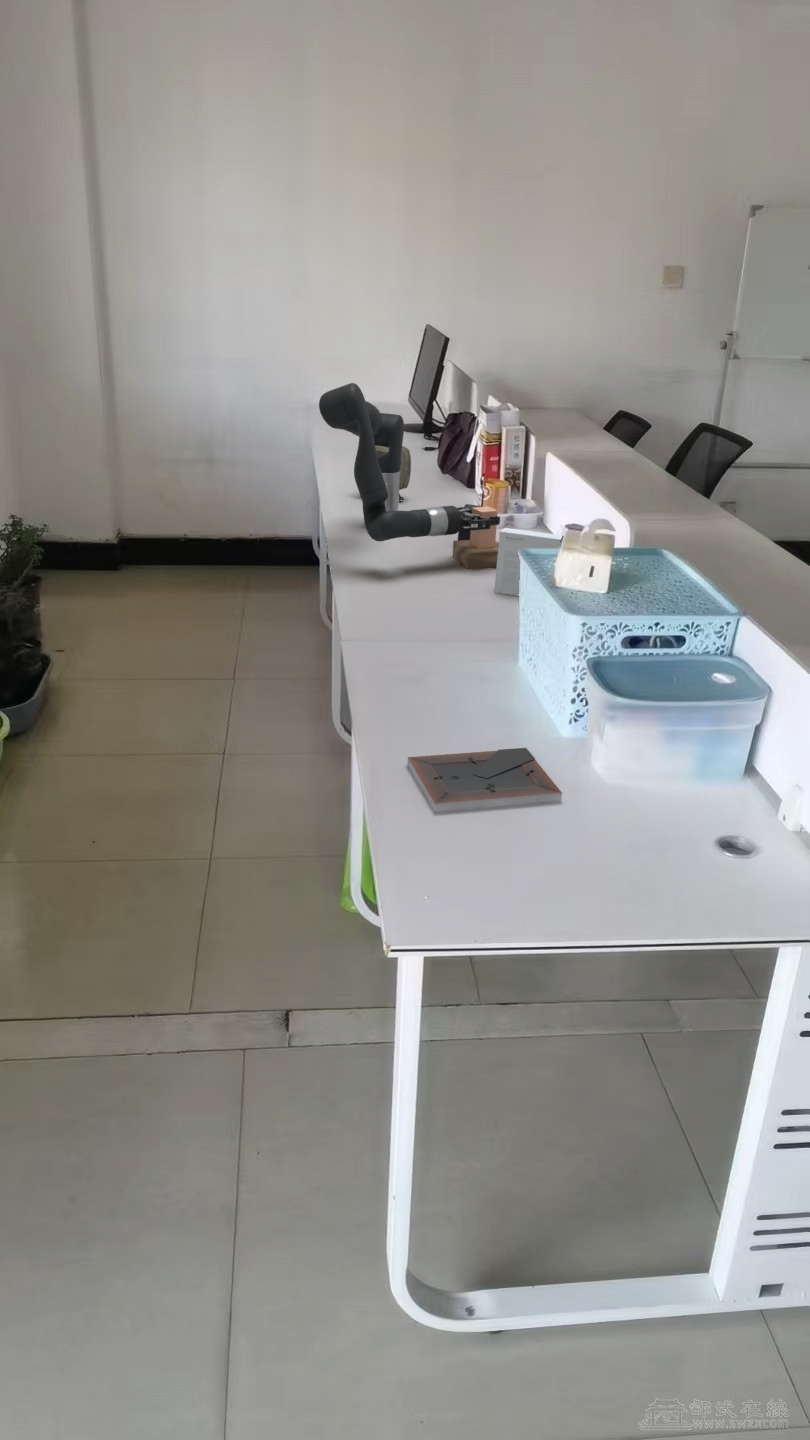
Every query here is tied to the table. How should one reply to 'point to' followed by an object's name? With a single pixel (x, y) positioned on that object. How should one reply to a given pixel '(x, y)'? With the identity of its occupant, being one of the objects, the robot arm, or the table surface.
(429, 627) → the table surface
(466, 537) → the small box
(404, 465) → the tabletop clock
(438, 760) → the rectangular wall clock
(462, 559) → the walnut block
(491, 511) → the terracotta pillar
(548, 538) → the skincare box
